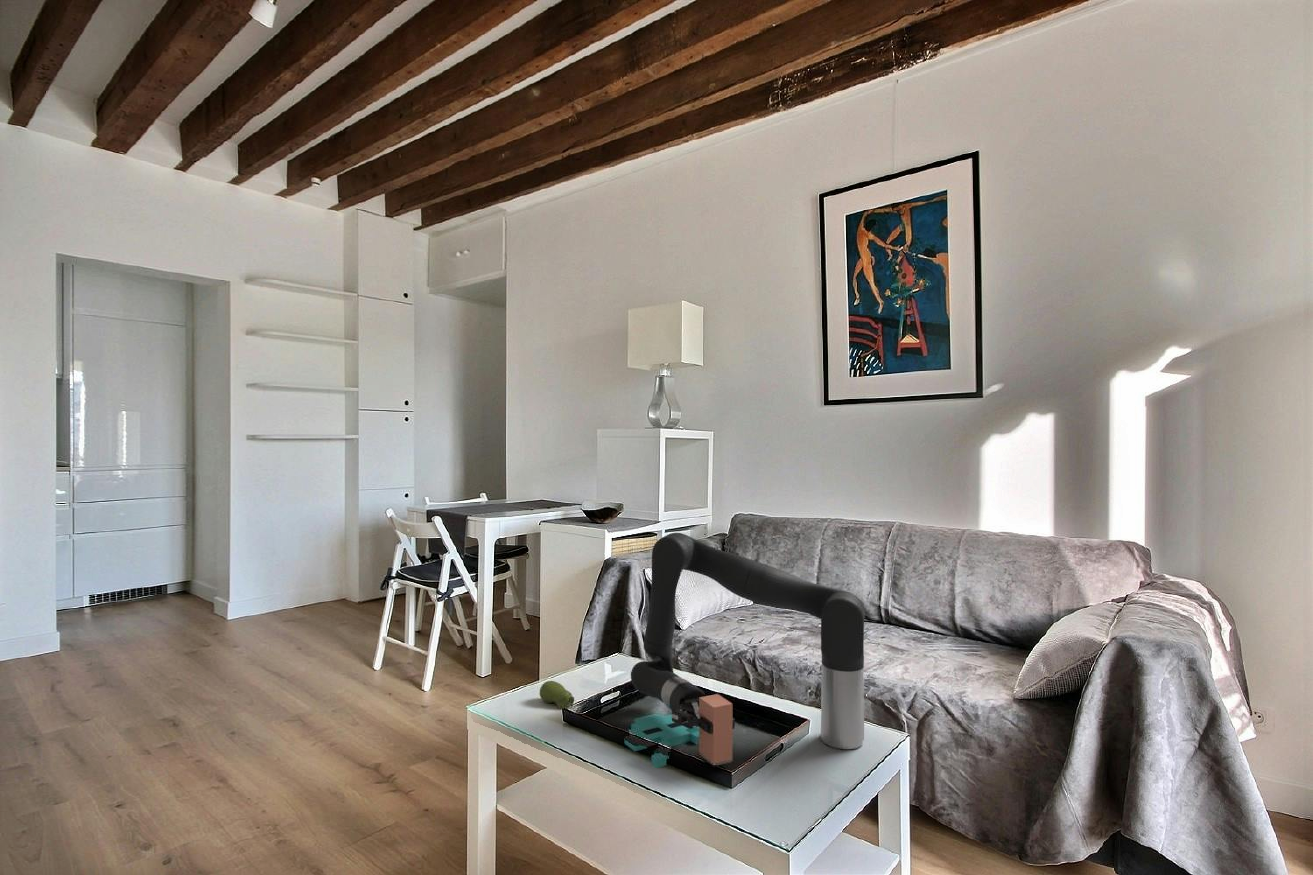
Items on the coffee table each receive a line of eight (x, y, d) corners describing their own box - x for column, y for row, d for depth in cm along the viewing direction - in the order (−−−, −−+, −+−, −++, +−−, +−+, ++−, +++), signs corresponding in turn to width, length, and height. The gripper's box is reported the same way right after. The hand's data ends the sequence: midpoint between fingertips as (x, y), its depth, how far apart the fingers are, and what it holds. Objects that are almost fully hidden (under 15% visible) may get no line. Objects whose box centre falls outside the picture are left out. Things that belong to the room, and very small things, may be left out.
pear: (551, 675, 183) (580, 689, 177) (548, 694, 183) (577, 709, 178) (536, 681, 178) (565, 696, 172) (533, 700, 179) (562, 716, 173)
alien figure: (732, 747, 155) (680, 716, 172) (732, 737, 155) (680, 707, 172) (657, 770, 144) (609, 734, 161) (657, 759, 144) (609, 725, 161)
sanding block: (717, 749, 149) (717, 693, 149) (732, 761, 144) (732, 703, 144) (699, 753, 148) (699, 697, 147) (713, 766, 142) (713, 707, 142)
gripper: (655, 686, 156) (692, 714, 140) (710, 677, 162) (751, 702, 146) (655, 720, 156) (692, 751, 140) (710, 709, 162) (751, 738, 146)
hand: (722, 726), depth 143 cm, fingers closed on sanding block, 4 cm apart
